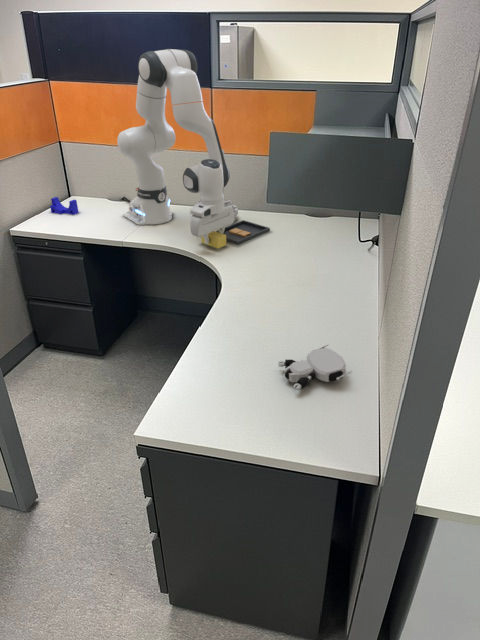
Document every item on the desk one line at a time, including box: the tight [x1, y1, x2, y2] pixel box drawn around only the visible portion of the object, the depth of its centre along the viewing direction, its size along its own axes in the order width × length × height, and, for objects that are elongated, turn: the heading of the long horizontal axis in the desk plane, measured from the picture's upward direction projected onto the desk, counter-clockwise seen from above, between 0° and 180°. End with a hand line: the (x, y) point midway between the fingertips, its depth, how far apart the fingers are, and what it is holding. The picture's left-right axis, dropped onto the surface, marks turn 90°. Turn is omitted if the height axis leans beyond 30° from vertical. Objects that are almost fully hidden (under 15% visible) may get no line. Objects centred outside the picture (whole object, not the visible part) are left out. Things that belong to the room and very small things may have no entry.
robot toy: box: [277, 343, 353, 391], centre depth 121 cm, size 12×4×15 cm
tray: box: [215, 219, 271, 246], centre depth 202 cm, size 15×20×2 cm
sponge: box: [200, 230, 227, 250], centre depth 192 cm, size 9×4×5 cm, turn 48°
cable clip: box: [49, 196, 79, 216], centre depth 227 cm, size 12×4×6 cm, turn 66°
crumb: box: [237, 231, 251, 237], centre depth 201 cm, size 4×4×1 cm
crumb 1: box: [229, 228, 243, 235], centre depth 203 cm, size 4×4×1 cm
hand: (213, 240), depth 192 cm, fingers open, 5 cm apart
